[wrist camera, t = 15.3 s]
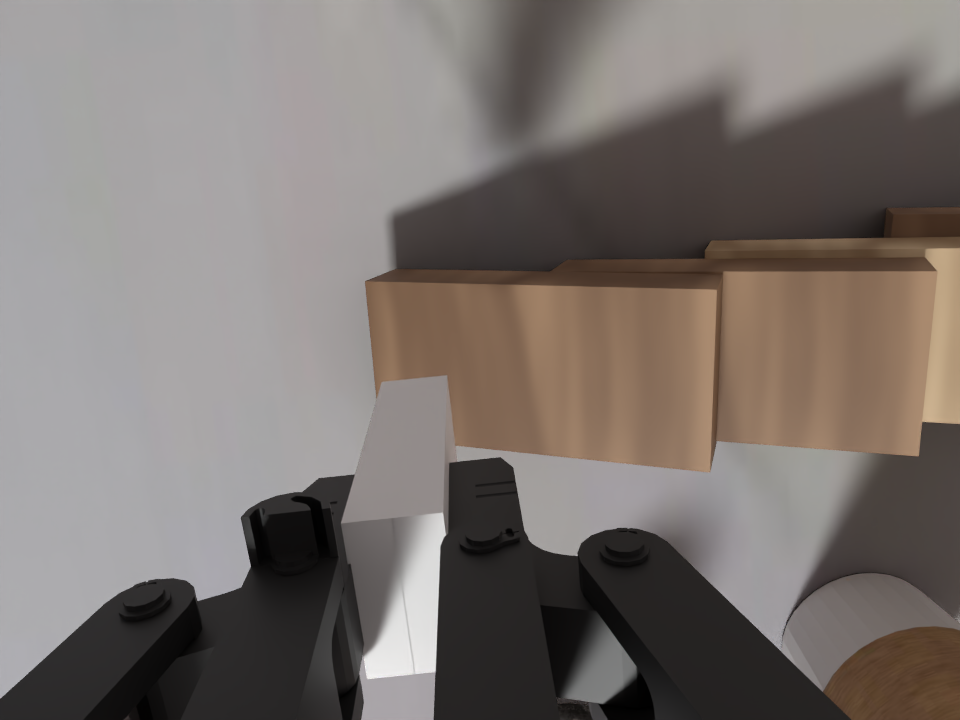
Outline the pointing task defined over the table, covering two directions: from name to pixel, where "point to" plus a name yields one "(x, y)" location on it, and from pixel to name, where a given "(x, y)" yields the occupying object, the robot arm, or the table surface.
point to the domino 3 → (922, 222)
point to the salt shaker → (574, 712)
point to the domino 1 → (561, 358)
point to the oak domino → (956, 318)
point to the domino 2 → (816, 347)
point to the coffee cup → (878, 649)
